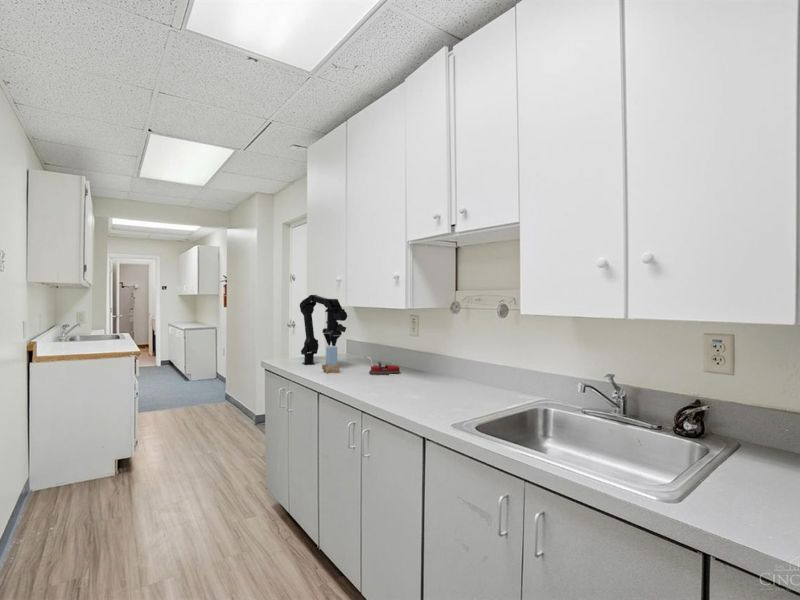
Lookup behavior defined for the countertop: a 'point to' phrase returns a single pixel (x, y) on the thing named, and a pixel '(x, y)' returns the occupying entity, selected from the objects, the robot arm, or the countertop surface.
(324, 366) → the slab top
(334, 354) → the pillar
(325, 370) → the slab bottom
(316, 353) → the robot arm
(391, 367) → the bumper car
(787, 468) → the countertop surface
